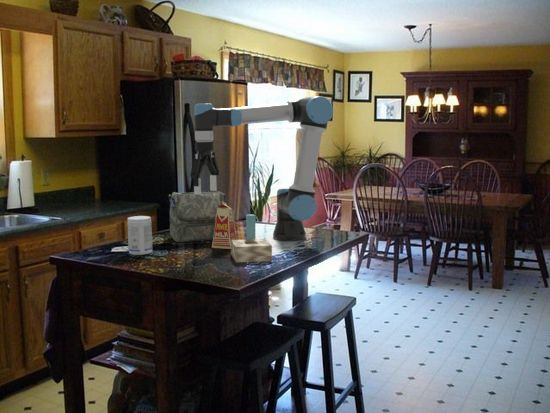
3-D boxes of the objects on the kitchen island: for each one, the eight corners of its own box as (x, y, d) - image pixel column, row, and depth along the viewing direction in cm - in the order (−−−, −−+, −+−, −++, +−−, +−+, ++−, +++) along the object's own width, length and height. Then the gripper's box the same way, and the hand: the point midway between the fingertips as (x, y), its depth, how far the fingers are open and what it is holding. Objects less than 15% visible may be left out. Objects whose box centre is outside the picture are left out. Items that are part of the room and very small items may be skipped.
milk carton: (232, 248, 262) (231, 202, 259) (211, 248, 264) (210, 201, 261) (237, 244, 271) (237, 199, 268) (217, 243, 273) (216, 198, 270)
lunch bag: (172, 243, 273) (171, 194, 270) (166, 236, 290) (165, 190, 287) (229, 240, 281) (229, 192, 278) (220, 233, 298) (219, 188, 295)
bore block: (265, 253, 253) (265, 238, 252) (271, 260, 240) (271, 245, 239) (231, 254, 250) (231, 240, 250) (235, 262, 237) (235, 246, 236)
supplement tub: (149, 249, 260) (148, 215, 258) (155, 254, 252) (154, 218, 250) (126, 251, 256) (124, 216, 254) (131, 256, 248) (130, 219, 246)
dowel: (254, 249, 260) (254, 214, 258) (256, 251, 257) (256, 215, 255) (245, 250, 260) (245, 214, 257) (247, 251, 256) (246, 216, 254)
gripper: (210, 140, 269) (212, 188, 272) (180, 142, 246) (182, 195, 249) (226, 140, 266) (227, 189, 269) (197, 142, 243) (198, 196, 246)
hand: (205, 192), depth 259 cm, fingers open, 13 cm apart
